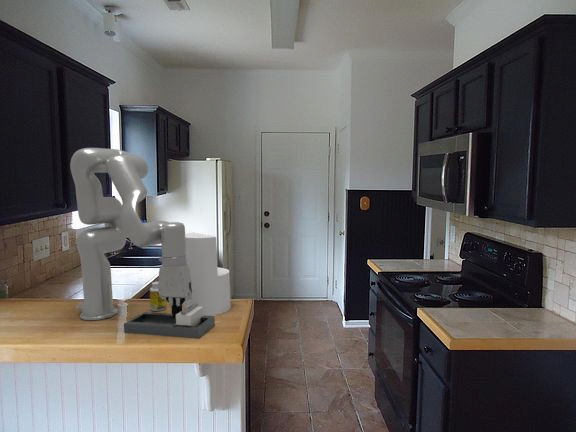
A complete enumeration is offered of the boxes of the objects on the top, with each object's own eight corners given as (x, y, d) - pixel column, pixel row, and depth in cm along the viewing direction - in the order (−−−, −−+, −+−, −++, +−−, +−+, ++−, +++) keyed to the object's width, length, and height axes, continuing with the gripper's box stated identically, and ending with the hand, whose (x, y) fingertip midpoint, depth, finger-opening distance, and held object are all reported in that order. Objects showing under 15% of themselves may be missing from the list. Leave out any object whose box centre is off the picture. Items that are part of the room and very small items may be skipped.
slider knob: (176, 329, 135) (175, 311, 134) (189, 319, 143) (188, 303, 143) (191, 330, 133) (190, 312, 133) (203, 320, 142) (202, 303, 142)
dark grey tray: (124, 332, 138) (123, 323, 137) (145, 320, 149) (144, 311, 149) (198, 338, 131) (198, 328, 131) (214, 324, 143) (214, 316, 143)
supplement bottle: (158, 312, 158) (157, 285, 157) (147, 310, 160) (146, 283, 159) (169, 308, 162) (168, 281, 161) (158, 306, 165) (157, 280, 164)
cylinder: (197, 319, 149) (193, 239, 146) (175, 308, 162) (172, 234, 159) (239, 308, 160) (236, 234, 157) (215, 299, 173) (213, 230, 170)
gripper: (147, 262, 136) (150, 319, 137) (190, 264, 132) (193, 322, 134) (159, 258, 143) (162, 312, 145) (201, 259, 139) (203, 314, 141)
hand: (177, 316), depth 139 cm, fingers closed
